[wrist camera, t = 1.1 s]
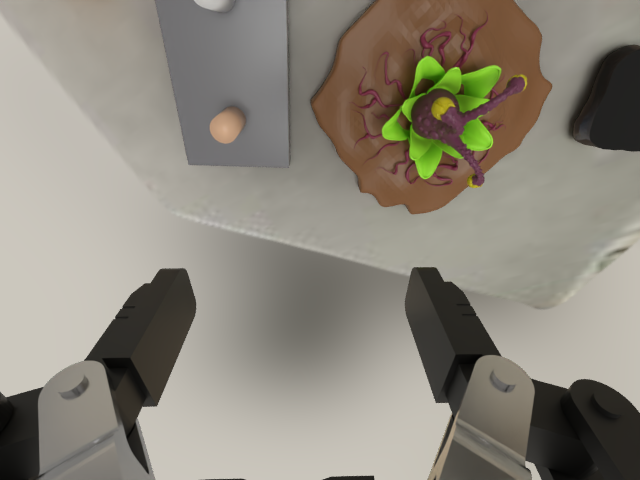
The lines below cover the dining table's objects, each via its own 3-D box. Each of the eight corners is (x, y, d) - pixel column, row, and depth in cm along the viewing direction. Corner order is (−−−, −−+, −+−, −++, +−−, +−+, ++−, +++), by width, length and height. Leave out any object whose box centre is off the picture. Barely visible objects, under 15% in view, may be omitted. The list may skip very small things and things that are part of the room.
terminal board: (148, -85, 22) (101, -121, 17) (286, -76, 23) (279, -109, 18) (194, 158, 32) (173, 180, 27) (290, 161, 33) (286, 183, 28)
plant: (453, -102, 22) (556, -202, 13) (563, 97, 30) (676, 124, 21) (279, 111, 30) (266, 144, 21) (402, 226, 38) (432, 287, 28)
